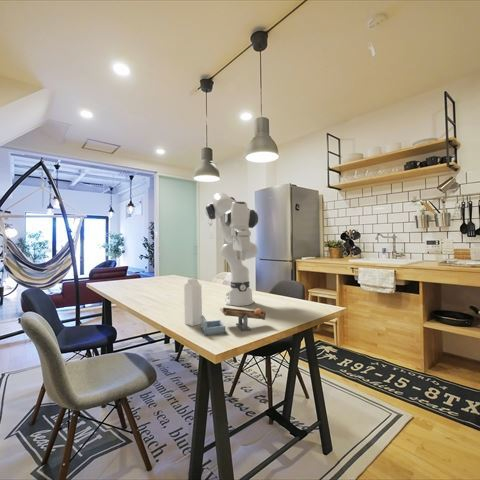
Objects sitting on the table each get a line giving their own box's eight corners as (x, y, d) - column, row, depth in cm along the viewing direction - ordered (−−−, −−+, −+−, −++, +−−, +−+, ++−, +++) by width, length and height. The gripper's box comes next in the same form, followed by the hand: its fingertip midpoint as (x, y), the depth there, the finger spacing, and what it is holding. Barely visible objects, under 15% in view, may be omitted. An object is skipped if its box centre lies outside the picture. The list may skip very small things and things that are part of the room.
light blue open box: (201, 328, 126) (201, 315, 126) (220, 326, 128) (220, 313, 128) (204, 335, 116) (204, 321, 116) (225, 333, 119) (225, 319, 119)
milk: (202, 323, 134) (201, 278, 134) (192, 326, 129) (192, 279, 129) (193, 321, 138) (193, 277, 138) (184, 323, 133) (184, 278, 133)
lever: (255, 315, 138) (257, 306, 138) (264, 322, 126) (266, 312, 126) (219, 311, 132) (220, 302, 132) (225, 318, 121) (227, 308, 121)
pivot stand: (243, 323, 132) (243, 310, 132) (250, 330, 122) (250, 315, 122) (235, 324, 131) (235, 310, 131) (242, 331, 121) (241, 316, 121)
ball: (252, 314, 130) (253, 307, 130) (259, 315, 131) (260, 307, 131) (255, 316, 126) (256, 309, 126) (262, 317, 127) (263, 309, 127)
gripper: (229, 233, 148) (230, 259, 148) (239, 232, 129) (239, 261, 128) (241, 233, 150) (241, 258, 150) (251, 231, 130) (252, 260, 130)
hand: (240, 260), depth 139 cm, fingers open, 8 cm apart
